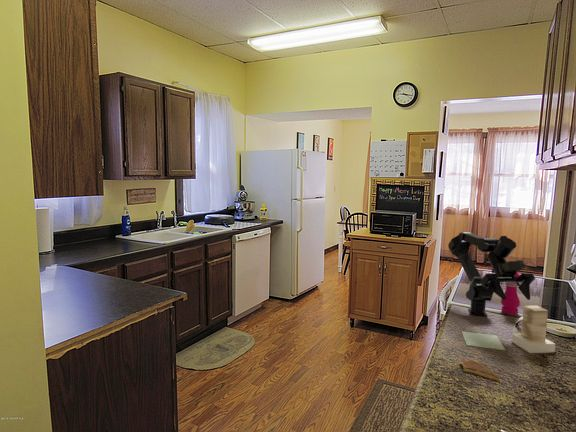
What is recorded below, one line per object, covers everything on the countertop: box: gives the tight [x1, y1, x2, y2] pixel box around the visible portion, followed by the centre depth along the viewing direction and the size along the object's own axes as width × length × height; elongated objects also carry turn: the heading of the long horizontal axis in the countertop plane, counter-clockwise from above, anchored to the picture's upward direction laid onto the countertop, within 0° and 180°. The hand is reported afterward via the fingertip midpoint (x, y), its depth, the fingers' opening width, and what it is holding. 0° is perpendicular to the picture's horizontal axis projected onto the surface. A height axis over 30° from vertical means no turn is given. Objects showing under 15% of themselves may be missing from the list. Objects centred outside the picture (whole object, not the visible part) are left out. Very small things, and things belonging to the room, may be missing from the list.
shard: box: [458, 359, 502, 382], centre depth 113 cm, size 11×8×2 cm
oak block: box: [521, 305, 549, 342], centre depth 130 cm, size 5×5×11 cm
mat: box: [461, 330, 506, 351], centre depth 136 cm, size 12×12×1 cm
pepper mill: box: [500, 272, 521, 315], centre depth 164 cm, size 7×7×20 cm
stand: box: [511, 332, 556, 354], centre depth 131 cm, size 9×9×3 cm
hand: (517, 299), depth 137 cm, fingers open, 9 cm apart
